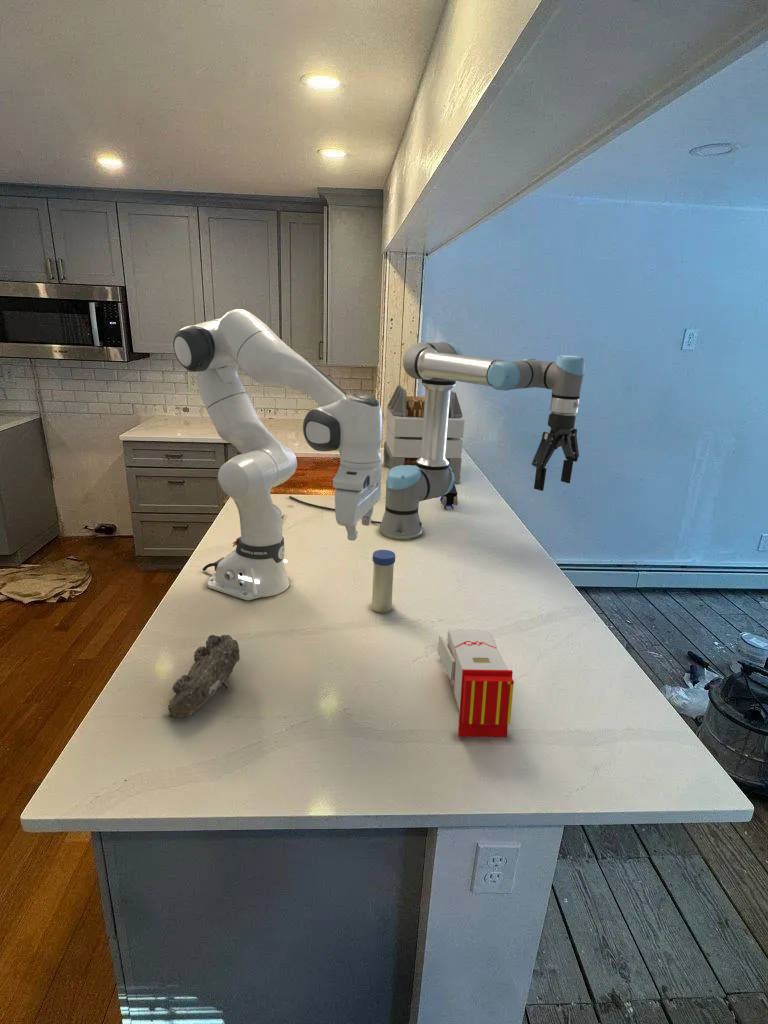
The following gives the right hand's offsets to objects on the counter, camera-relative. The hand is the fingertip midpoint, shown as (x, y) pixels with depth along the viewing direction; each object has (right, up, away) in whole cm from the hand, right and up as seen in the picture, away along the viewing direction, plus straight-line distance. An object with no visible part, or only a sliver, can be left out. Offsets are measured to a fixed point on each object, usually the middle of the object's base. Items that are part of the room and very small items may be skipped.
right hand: (552, 485), depth 166 cm
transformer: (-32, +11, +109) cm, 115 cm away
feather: (-87, -10, +44) cm, 97 cm away
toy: (-31, -45, -47) cm, 72 cm away
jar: (-50, -33, -15) cm, 62 cm away
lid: (-49, -19, -21) cm, 56 cm away
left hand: (-55, -12, -40) cm, 69 cm away
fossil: (-85, -44, -49) cm, 107 cm away
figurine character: (-23, -5, +66) cm, 70 cm away
